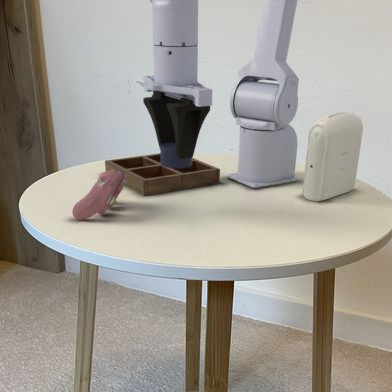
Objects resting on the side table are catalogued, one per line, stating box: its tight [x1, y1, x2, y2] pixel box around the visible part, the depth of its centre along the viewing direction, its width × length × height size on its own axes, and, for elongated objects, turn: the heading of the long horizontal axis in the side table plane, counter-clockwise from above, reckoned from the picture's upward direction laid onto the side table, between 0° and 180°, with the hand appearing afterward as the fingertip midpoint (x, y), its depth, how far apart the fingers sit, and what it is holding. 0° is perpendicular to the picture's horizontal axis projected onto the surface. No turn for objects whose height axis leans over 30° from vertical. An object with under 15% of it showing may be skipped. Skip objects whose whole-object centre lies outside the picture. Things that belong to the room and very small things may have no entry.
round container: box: [159, 142, 193, 168], centre depth 84 cm, size 4×4×3 cm
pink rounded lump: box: [71, 169, 127, 221], centre depth 86 cm, size 10×5×7 cm, turn 169°
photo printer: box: [302, 111, 364, 202], centre depth 93 cm, size 10×4×12 cm, turn 133°
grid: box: [104, 153, 221, 197], centre depth 102 cm, size 14×14×2 cm
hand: (176, 153), depth 84 cm, fingers closed on round container, 4 cm apart
